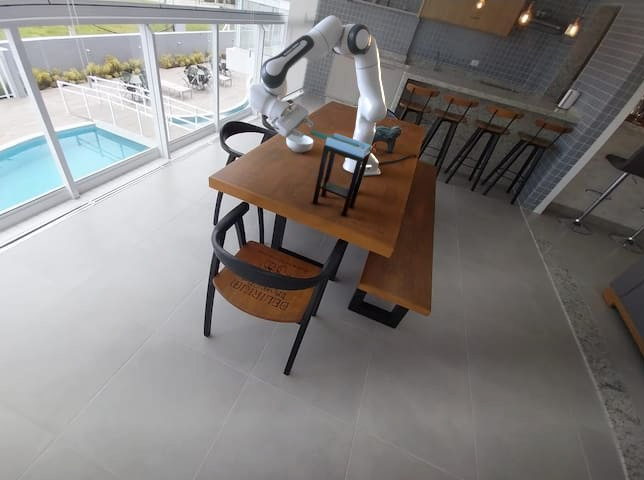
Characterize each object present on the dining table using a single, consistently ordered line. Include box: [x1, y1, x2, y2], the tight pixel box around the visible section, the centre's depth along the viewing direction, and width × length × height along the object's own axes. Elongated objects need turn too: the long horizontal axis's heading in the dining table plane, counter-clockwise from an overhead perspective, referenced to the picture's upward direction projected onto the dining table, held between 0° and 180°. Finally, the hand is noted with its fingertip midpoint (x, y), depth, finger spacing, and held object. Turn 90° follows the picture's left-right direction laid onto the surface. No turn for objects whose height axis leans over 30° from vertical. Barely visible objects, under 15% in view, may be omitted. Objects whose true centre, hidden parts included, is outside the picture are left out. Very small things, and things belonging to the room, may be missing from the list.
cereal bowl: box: [285, 134, 314, 154], centre depth 186 cm, size 17×17×7 cm
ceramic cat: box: [372, 119, 402, 154], centre depth 201 cm, size 20×6×20 cm, turn 84°
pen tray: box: [325, 132, 373, 158], centre depth 125 cm, size 17×8×3 cm, turn 60°
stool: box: [312, 144, 371, 217], centre depth 135 cm, size 17×11×27 cm, turn 60°
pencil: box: [309, 129, 364, 149], centre depth 127 cm, size 24×2×1 cm, turn 60°
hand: (307, 130), depth 132 cm, fingers open, 8 cm apart
